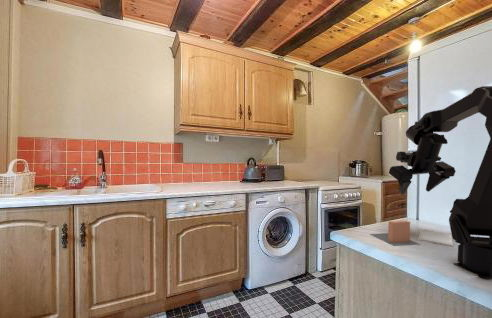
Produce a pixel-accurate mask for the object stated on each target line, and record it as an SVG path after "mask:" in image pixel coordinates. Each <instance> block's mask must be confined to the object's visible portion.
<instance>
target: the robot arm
mask: <svg viewBox="0 0 492 318" xmlns="http://www.w3.org/2000/svg"><path fill="white" fill-rule="evenodd" d="M478 113H479V114H481V115H482V116H484V117H485V123H484V126H485V129H486V131H487V134H488V135H489V142H488V145H487V147H486V150H485V151H484V155H483V158H482V160H481V163H480V165H479V168H478V171H477V173H476V176H475V178H474V182H473V184H472V187H471V188H470V192H469V194H468V196H467V197H465V198H456V199H455V200H454V201H453V205H452V207H451V209H450V210H449V214H450V215H449V217H448V224H449V228H450V234H451V235H452V239H453V241H454V242H455V243H457V244H458V245H457V262H454V263H453V265H454V266H457V267H458V268H461V269H463V270H466V271H468V272H470V273H472V274H475V275H477V276H478V277H480V278H482V279H484V280H487V279H488V280H489V279H492V85H485V86H484V85H482V86H479V87H475V88H474V89H473V90H472V92H471V93H469V94H468V95H465V96H464V97H462V98H460V99H458V100H457V101H456V102H453V103H451V104H450V105H448V106H447V107H445V108H442V109H438V110H432V111H429V112H426V113H424V114H423V116H422V117H421V118H420V119H419V120H418V121H415V122H414V124H413V125H411V126H409V127H407V129H406V131H405V136H406V137H407V139H409V140H410V141H411V142H412V143H413V144H414V145H417V148H416V150H415V151H412V152H406V151H403V150H402V151H397V152H396V155H395V159H396V161H399V162H400V163H406V165H407V166H408V167H411V168H407V167H405V166H404V165H393V166H391V167H389V171H388V174H389V175H391V177H393V178H394V179H396V181H397V183H398V187H399V192H400V194H401V195H405V193H406V191H407V190H408V188H409V186H410V185H411V184H412V179H413V177H414V176H417V175H426V174H428V180H427V182H426V186H425V191H426V192H427V193H428V192H431V191H432V190H433V189H434V188H436V187H437V186H439V185H440V184H441V183H443V182H445V181H446V180H448V179H450V178H451V177H454V176H455V173H456V172H457V171H456V169H455V167H453V166H452V165H451V164H448V163H447V162H444V161H441V159H442V157H440V156H439V155H440V152H441V149H442V147H443V145H447V144H448V143H449V142H448V139H447V138H446V137H445V135H444V134H439V133H448V132H451V131H453V130H454V129H455V128H457V127H458V124H459V122H460V121H463V120H465V119H468V118H469V117H472V116H474V115H476V114H478Z"/></svg>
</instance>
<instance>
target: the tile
mask: <svg viewBox="0 0 492 318" xmlns="http://www.w3.org/2000/svg"><path fill="white" fill-rule="evenodd" d="M387 230H388V232H387V233H388V241H390V242H392V243H397V242H410V240H411V239H410V238H411V237H410V236H411V222H410V221H408V220H389V221H388V229H387Z"/></svg>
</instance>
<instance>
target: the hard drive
mask: <svg viewBox="0 0 492 318" xmlns="http://www.w3.org/2000/svg"><path fill="white" fill-rule="evenodd" d="M417 240H418V241H419V242H424V243H429V244H435V245H439V246H445V247H449V248H455V244H454V240H453V238H452V234H451V233H447V232H446V233H445V232H442V231H441V232H440V231H434V230H428V229H424V228H423V229H422V228H421V229H420V231H419V235H418V239H417Z"/></svg>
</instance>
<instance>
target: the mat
mask: <svg viewBox="0 0 492 318" xmlns="http://www.w3.org/2000/svg"><path fill="white" fill-rule="evenodd" d="M369 235H370V236H373V237H374V238H376V239H378V240H380V241H383V242H384V243H387V244H388V245H390V246H393V247H401V246H402V247H403V246H404V247H405V246H414V245H415V246H418V245H420V246H421V244H420V243H419V242H416V241H414V240H411V239H410V242H397V243H392V242H390V241H388V232H384V233H369Z"/></svg>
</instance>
